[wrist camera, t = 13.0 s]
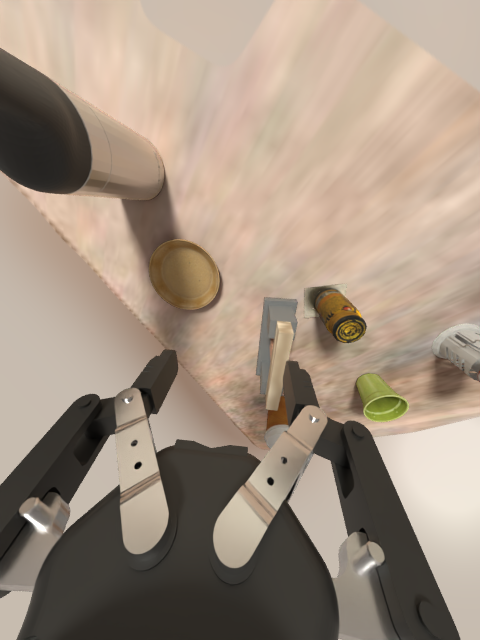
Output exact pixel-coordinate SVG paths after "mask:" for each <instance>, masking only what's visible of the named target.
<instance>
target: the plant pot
mask: <svg viewBox="0 0 480 640" xmlns="http://www.w3.org/2000/svg"><path fill="white" fill-rule="evenodd" d="M356 385H357V388H358V391H359V394H360V397H361V400H362V402H363V408H364V409H363V413H364V415H365V417H366V418H368V419H369V420H371V421H375V422H387V421H392V420H395V419H398V418H400V417H401V416H403V415H404V414H405V413H406V412H407V411H408V408H409V403H408V401H407V400H406V399H405V398H403V397H401V396H400V395H398V394H397V393H395V392H394V391H393V390H392V389H391V388H390V387H389V386H388V385H387V384H386V383H385V382H384V380H383V379H382V378H381V377H380V376H378V375H377V374H369V373H368V374H364V375H362V376H360V377H359V378H358V380H357V382H356Z"/></svg>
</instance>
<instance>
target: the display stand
mask: <svg viewBox="0 0 480 640" xmlns="http://www.w3.org/2000/svg"><path fill="white" fill-rule="evenodd" d="M297 303H298V302H297V300H295V299H281V298H267V297H264V306H263V315H262V324H261V333H260V342H259V351H258V360H257V369H256V375H260V394H266V388H267V381H268V375H269V369H270V362H271V356H272V350H273V343H274V337H275V331H276V324H277V321H284V322H291V325H292V329H293V332H294V336H293V340H294V337H295V332H296V328H297V323H298V322H297V319H296V316H295V313H296V308H297ZM282 393H283V387H282V392H281V396H282Z"/></svg>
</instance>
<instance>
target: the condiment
mask: <svg viewBox="0 0 480 640" xmlns="http://www.w3.org/2000/svg"><path fill="white" fill-rule="evenodd" d="M346 288H347V284H338V285H330V286H322V287H312V288H305V292H304V318H311V317H321V319H322V321H323V323H324V325H325V326H326V328H327V330H328V331H329V332H330V333H332V334H333V336H334V337H335V338H336V340H337V341H340V342H343V343H351V342H355V341H357V340H359V339H360V338H361V337H362V336H363V335H364V334H365V331H366V327H367V326H366V323H365V321H364V320H363V319H362V317H361V314H360V312H359V311H358V310H357V309H356V307H355V306H353V305H352V303H351V302H350V301H349V300H348V299H347V298H346V297H345V295H346ZM313 308H314V309H313Z"/></svg>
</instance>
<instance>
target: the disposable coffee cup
mask: <svg viewBox="0 0 480 640" xmlns="http://www.w3.org/2000/svg"><path fill="white" fill-rule="evenodd" d="M288 429H289V427H288V419H287V412H286V405H285V397H283V396H281V397H280V401H279V406H278V411H275V410H268V418H267V429H266V433H265V436H264V439H265V441H266V444H267V446H268V447H269V448H270V449H271V448H272V446H273V445H274V444H275V442H276V441H277V440H278V438H279V437H280V436H281V434H282V433H283V432H284V431H287V430H288Z"/></svg>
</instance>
